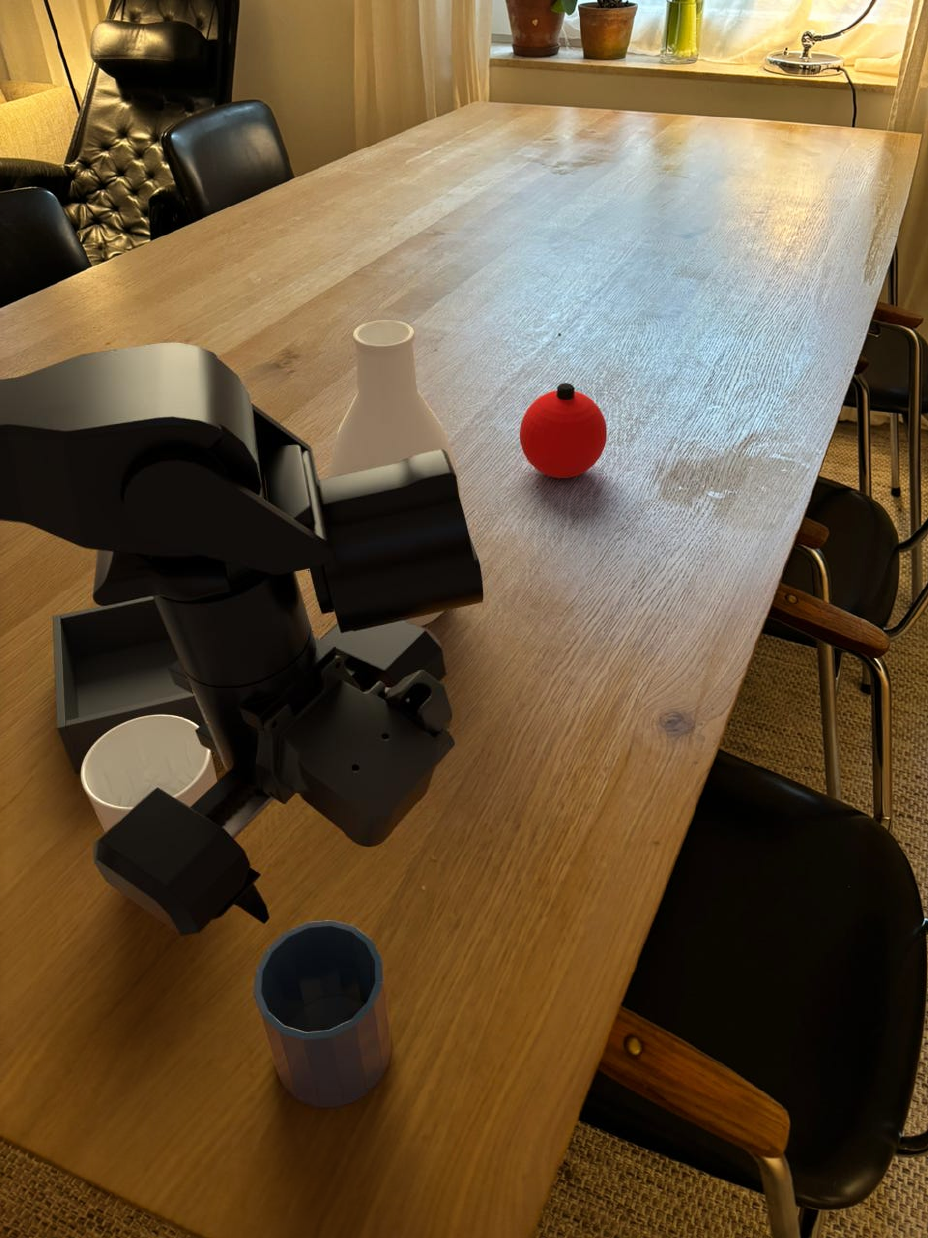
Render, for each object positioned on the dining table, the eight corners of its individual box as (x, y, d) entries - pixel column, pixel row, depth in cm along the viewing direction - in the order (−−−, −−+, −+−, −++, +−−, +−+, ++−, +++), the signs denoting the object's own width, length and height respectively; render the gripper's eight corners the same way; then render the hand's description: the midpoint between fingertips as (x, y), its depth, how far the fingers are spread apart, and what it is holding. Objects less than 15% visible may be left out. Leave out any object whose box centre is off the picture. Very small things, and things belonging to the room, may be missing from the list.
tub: (75, 774, 74) (56, 728, 71) (69, 661, 84) (52, 616, 80) (251, 730, 77) (241, 684, 74) (225, 626, 87) (215, 581, 84)
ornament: (618, 464, 106) (626, 378, 100) (578, 504, 101) (584, 416, 94) (544, 441, 110) (548, 357, 104) (502, 478, 104) (504, 392, 98)
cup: (254, 1087, 56) (231, 1017, 51) (304, 981, 61) (287, 907, 56) (366, 1124, 55) (354, 1055, 50) (407, 1011, 60) (400, 938, 54)
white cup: (171, 927, 64) (135, 831, 58) (95, 866, 68) (54, 769, 61) (259, 846, 69) (236, 749, 62) (184, 793, 73) (154, 697, 66)
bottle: (488, 600, 89) (490, 332, 73) (394, 659, 83) (373, 382, 67) (407, 547, 95) (392, 289, 79) (314, 598, 90) (276, 331, 73)
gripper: (216, 886, 34) (314, 1085, 44) (520, 575, 44) (541, 794, 54) (23, 756, 39) (150, 960, 49) (334, 507, 50) (385, 718, 60)
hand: (320, 852), depth 53 cm, fingers open, 9 cm apart
